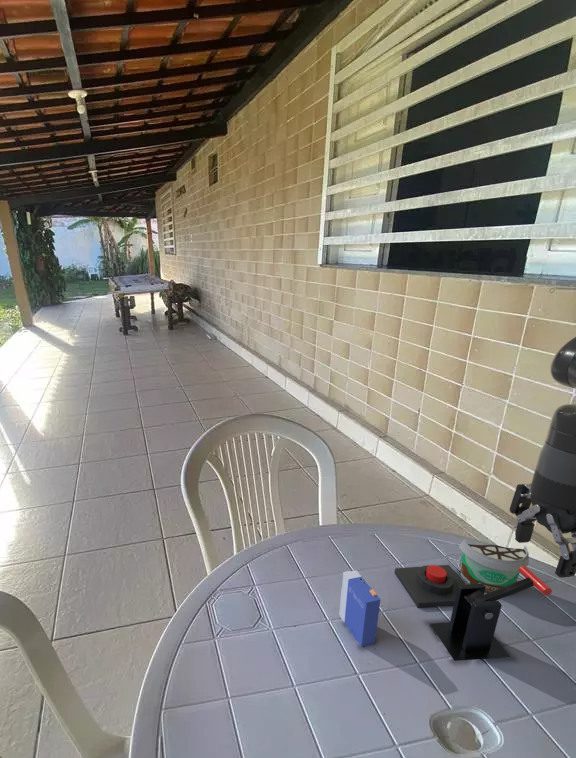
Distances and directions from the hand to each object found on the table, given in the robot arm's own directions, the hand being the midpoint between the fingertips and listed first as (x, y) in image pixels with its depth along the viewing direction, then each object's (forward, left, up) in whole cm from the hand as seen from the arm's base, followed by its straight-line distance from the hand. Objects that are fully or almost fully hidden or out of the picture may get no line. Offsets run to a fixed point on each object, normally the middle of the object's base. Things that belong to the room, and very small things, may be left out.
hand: (541, 557), depth 70 cm
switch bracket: (+9, 0, -19) cm, 21 cm away
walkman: (+28, -4, -19) cm, 34 cm away
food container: (-4, -12, -19) cm, 23 cm away
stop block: (+8, -13, -19) cm, 24 cm away
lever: (+4, 0, -8) cm, 9 cm away
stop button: (+8, -13, -15) cm, 22 cm away
